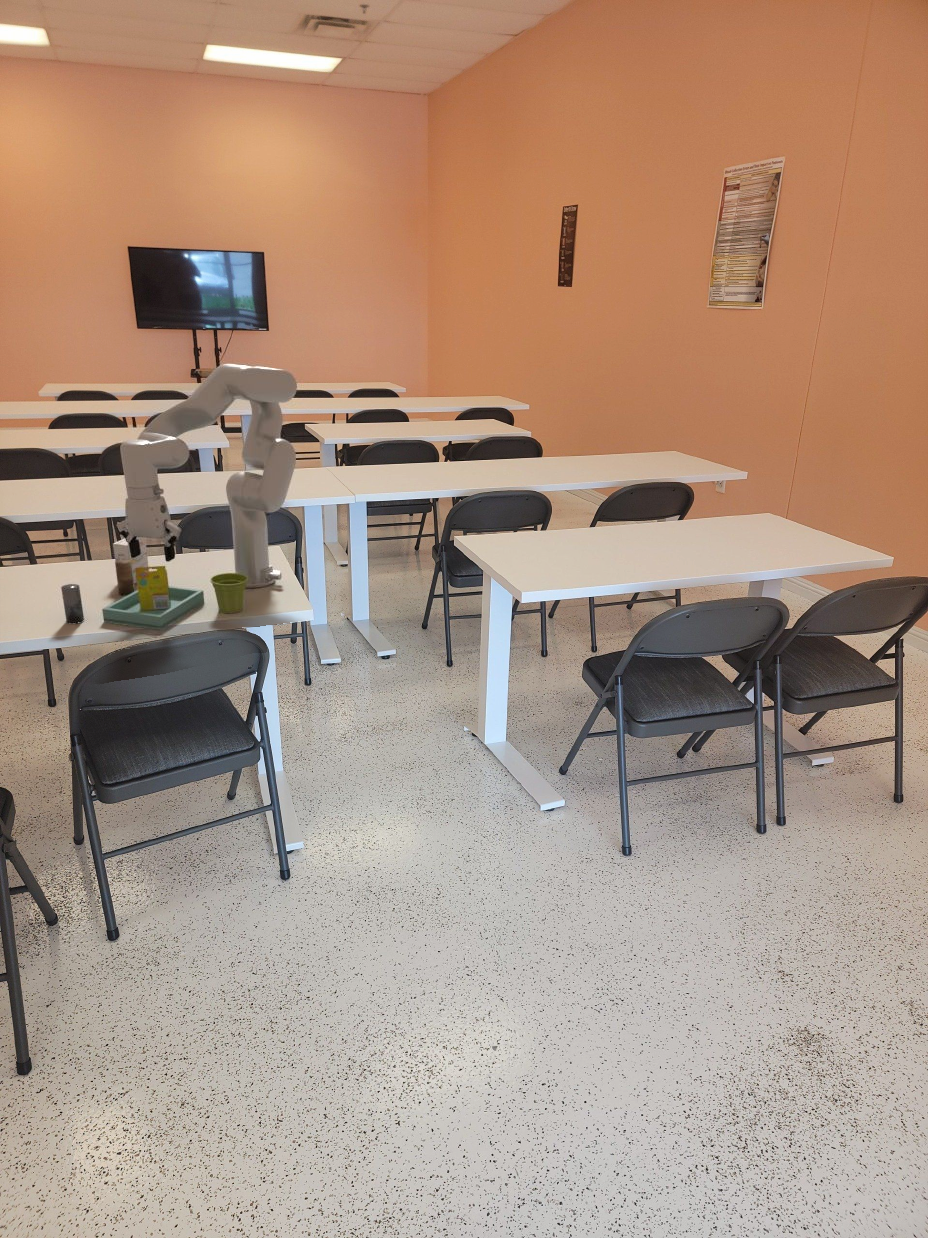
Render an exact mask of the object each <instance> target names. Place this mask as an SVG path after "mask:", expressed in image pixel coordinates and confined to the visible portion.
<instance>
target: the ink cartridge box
mask: <svg viewBox="0 0 928 1238" xmlns="http://www.w3.org/2000/svg"><path fill="white" fill-rule="evenodd" d="M136 539H138V540H139V544H140V551H141V554H140V555H139V556H137V557H135V558H131V553H130V549H129V543H128V542H126V539H125V538H123V539H120V540H118V541H115V542H114V543H112V547H113V554H114V561H115V562H116V561H118V560H130V561H131V565H132V573H133V582H134V585H135V584H137V579H136V569H135V568H140V567H149V560H148V559H149V558H148V552H147V551H148V550H147V544H146V542H147V541H146V538H145V537H137V538H136ZM115 562H114V563H115ZM144 571H150V569H148V570H144Z"/></svg>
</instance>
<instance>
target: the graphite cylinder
mask: <svg viewBox="0 0 928 1238" xmlns="http://www.w3.org/2000/svg"><path fill="white" fill-rule="evenodd" d="M60 588H61V595H62V596H61V597H62V600H63V607H64V615H65V621H66V623H67V624H69V623H76V624H79V623H78V622H81V623H83V622H84V621H85V617H84V609H83V603H82V595H81V589H80V585H79V584H76V583H68V584H65V585H61V587H60ZM83 620H84V621H83ZM82 621H83V622H82Z"/></svg>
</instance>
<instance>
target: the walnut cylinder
mask: <svg viewBox="0 0 928 1238" xmlns="http://www.w3.org/2000/svg"><path fill="white" fill-rule="evenodd" d="M114 564H115V571H116V572H115V573H116V581H117V587H118V589H117V591H118V595H119V596H121V597H125V596H127V595H129V594H131V593H133V592H135V591H136V590H135V584H134V582H133V573H132V565H131V561H130V560H118V561H116V562H114Z"/></svg>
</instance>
